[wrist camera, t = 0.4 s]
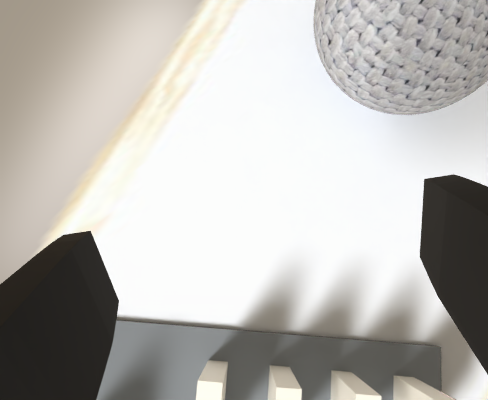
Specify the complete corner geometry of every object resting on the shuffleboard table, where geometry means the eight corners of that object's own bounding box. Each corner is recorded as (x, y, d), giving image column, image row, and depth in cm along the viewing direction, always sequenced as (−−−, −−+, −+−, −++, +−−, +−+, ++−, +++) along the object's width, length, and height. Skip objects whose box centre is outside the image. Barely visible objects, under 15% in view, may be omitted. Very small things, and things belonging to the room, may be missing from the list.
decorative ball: (494, 60, 41) (633, -68, 26) (394, 173, 39) (485, 103, 24) (370, -34, 43) (435, -201, 28) (269, 69, 41) (282, -54, 26)
